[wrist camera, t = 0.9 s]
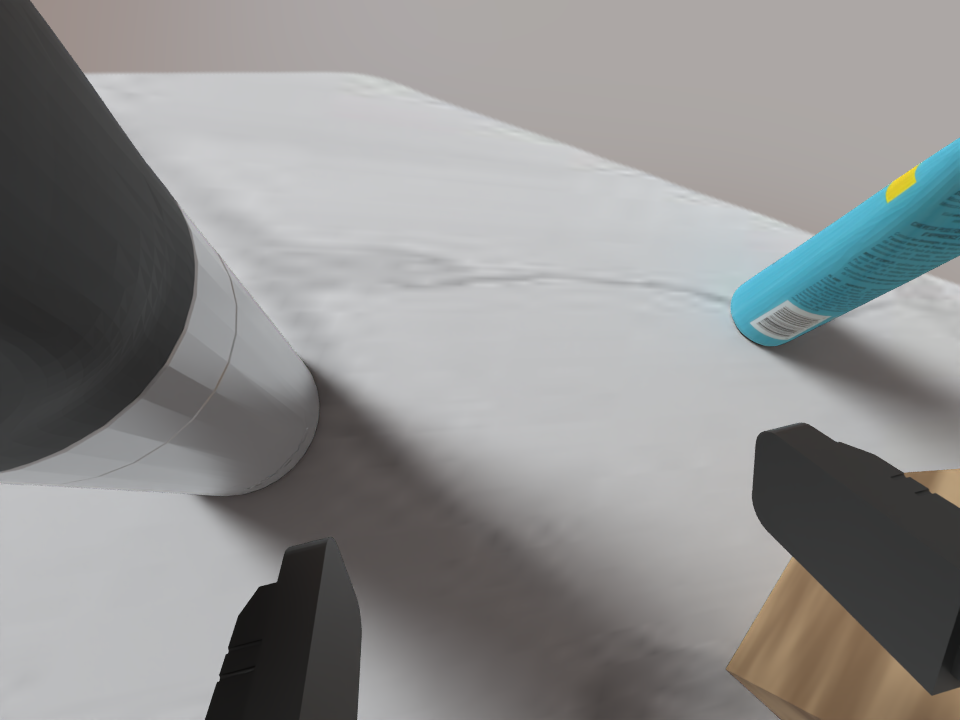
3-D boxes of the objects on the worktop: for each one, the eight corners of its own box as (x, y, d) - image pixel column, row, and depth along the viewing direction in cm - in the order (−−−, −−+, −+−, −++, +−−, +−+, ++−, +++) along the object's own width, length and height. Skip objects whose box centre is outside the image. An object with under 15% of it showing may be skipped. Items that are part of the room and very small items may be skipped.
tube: (799, 279, 36) (1195, 43, 18) (819, 343, 35) (1267, 161, 16) (703, 284, 35) (1018, 38, 17) (719, 351, 34) (1080, 164, 15)
